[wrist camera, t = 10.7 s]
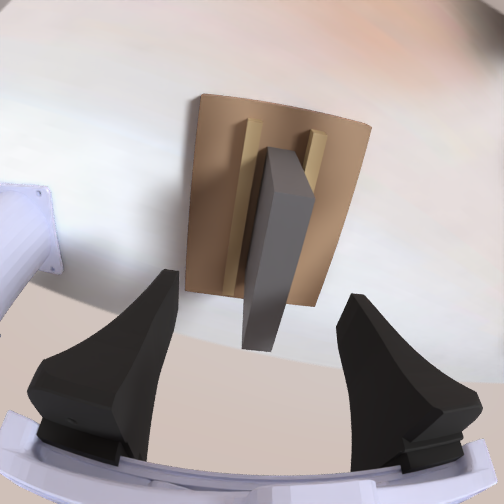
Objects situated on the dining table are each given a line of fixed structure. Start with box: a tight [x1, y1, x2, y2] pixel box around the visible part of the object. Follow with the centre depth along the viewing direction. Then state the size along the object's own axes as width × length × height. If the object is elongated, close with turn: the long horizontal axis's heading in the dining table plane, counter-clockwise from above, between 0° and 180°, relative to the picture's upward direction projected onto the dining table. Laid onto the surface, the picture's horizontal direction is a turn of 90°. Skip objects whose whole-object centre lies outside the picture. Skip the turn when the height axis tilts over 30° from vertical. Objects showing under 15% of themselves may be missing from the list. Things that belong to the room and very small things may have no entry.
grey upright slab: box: [242, 147, 316, 352], centre depth 17 cm, size 2×9×7 cm, turn 171°
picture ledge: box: [185, 94, 372, 307], centre depth 20 cm, size 10×14×2 cm
